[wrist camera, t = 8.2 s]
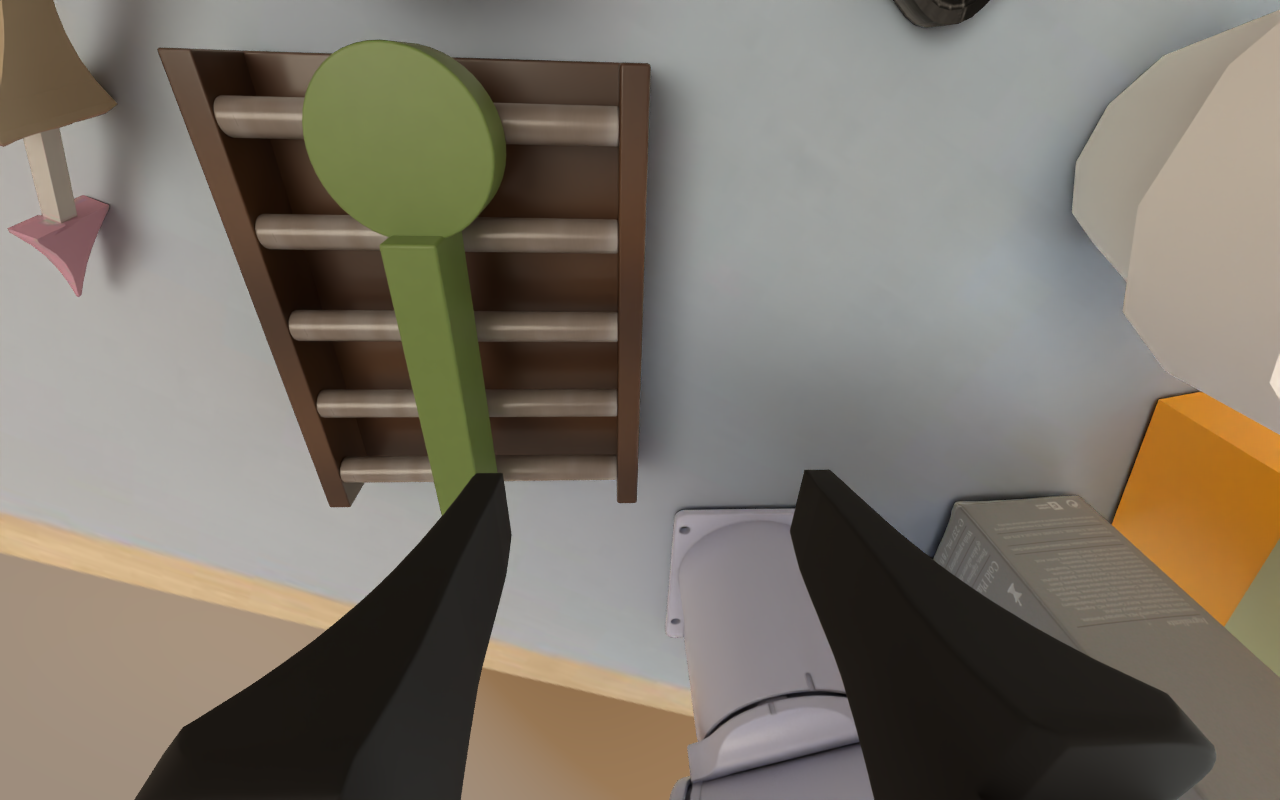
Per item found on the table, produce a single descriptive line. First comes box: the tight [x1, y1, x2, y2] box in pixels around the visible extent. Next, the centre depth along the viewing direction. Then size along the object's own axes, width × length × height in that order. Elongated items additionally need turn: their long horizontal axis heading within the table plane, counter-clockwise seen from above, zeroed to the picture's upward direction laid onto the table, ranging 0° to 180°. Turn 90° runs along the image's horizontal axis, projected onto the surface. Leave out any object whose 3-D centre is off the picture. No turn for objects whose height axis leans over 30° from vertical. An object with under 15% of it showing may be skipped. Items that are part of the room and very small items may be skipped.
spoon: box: [302, 40, 506, 515], centre depth 16 cm, size 14×4×3 cm, turn 179°
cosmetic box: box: [933, 495, 1280, 800], centre depth 22 cm, size 8×7×16 cm
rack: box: [157, 48, 651, 507], centre depth 18 cm, size 15×12×3 cm
